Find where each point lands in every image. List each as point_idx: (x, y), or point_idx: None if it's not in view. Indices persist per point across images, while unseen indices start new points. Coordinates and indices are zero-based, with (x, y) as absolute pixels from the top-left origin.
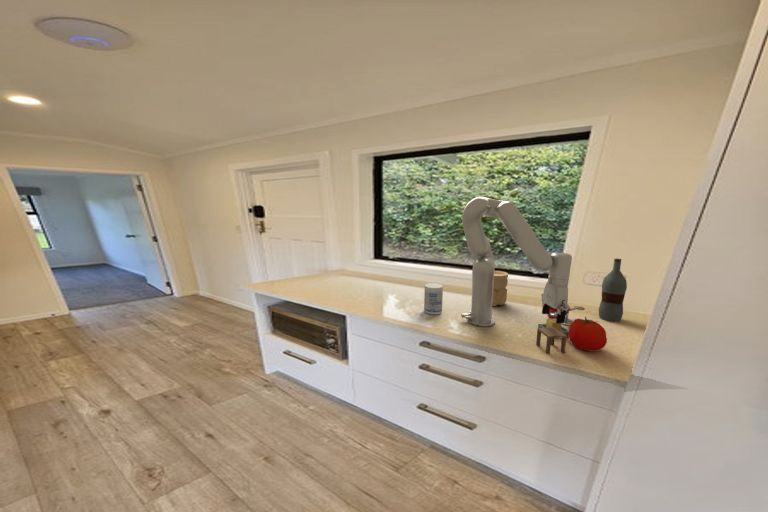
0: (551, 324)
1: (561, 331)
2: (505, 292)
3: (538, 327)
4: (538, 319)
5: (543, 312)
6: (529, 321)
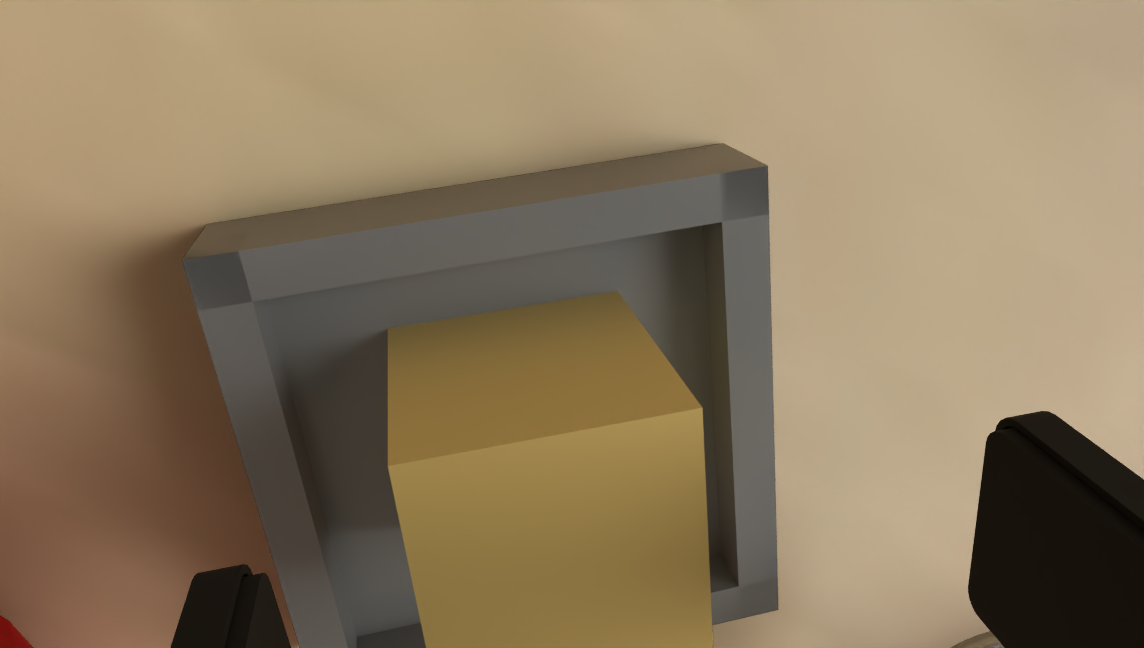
0: (428, 415)
1: None
2: None
3: (716, 152)
4: (1127, 363)
5: (1025, 464)
6: (1091, 117)
